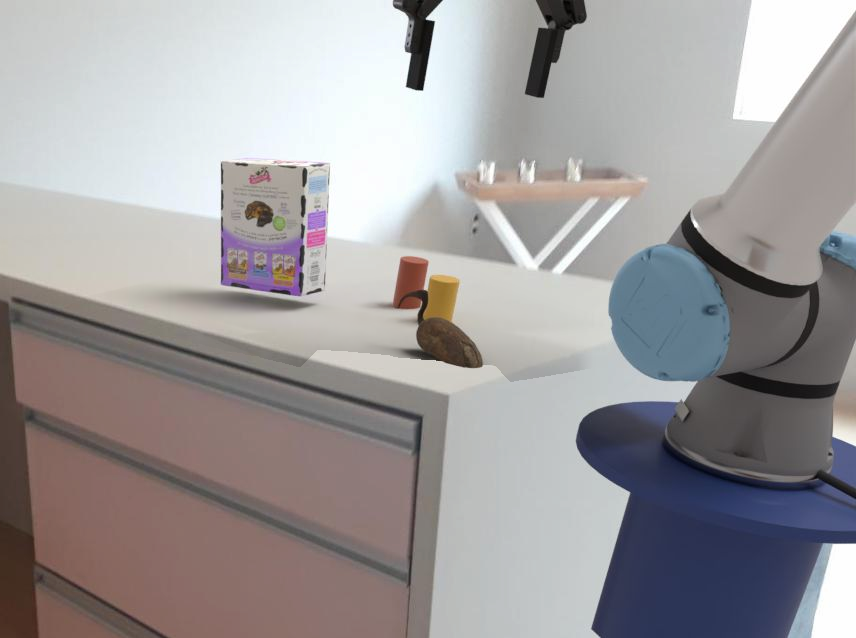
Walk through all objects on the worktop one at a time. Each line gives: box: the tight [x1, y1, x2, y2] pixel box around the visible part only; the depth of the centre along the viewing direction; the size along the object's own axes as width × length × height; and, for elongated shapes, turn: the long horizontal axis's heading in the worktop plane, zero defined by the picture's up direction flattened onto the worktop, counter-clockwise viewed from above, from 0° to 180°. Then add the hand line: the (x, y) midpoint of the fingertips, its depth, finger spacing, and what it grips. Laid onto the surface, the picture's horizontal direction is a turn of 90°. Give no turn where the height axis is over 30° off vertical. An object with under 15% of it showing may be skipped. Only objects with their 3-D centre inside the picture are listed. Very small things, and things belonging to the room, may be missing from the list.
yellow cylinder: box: [423, 274, 461, 323], centre depth 142 cm, size 4×4×7 cm
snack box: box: [220, 157, 331, 297], centre depth 151 cm, size 14×6×16 cm, turn 47°
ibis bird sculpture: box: [396, 289, 484, 369], centre depth 127 cm, size 14×4×9 cm, turn 28°
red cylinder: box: [391, 255, 430, 310], centre depth 150 cm, size 4×4×7 cm
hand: (474, 93), depth 119 cm, fingers open, 13 cm apart
